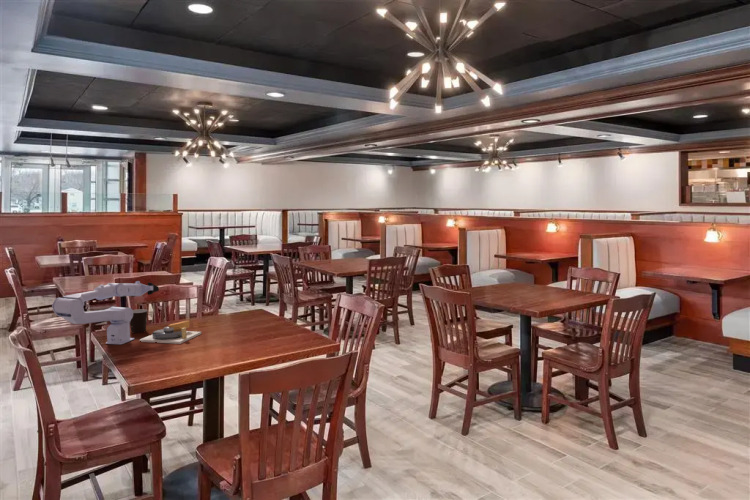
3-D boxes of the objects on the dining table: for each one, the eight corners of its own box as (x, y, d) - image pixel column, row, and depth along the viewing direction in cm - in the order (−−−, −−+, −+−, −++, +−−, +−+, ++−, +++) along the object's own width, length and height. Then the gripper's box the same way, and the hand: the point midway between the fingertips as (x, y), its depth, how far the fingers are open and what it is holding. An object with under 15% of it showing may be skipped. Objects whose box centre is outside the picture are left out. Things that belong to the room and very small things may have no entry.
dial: (165, 340, 234) (165, 330, 234) (145, 336, 241) (145, 326, 241) (198, 331, 249) (198, 322, 249) (178, 328, 257) (178, 319, 256)
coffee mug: (143, 333, 252) (142, 313, 251) (125, 333, 252) (124, 313, 251) (154, 327, 264) (153, 308, 263) (136, 327, 264) (136, 308, 263)
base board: (180, 343, 234) (179, 331, 234) (139, 341, 238) (139, 329, 237) (201, 333, 252) (200, 322, 251) (163, 331, 256) (162, 320, 255)
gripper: (143, 279, 241) (163, 279, 254) (117, 282, 246) (138, 283, 259) (144, 294, 241) (164, 294, 254) (118, 298, 245) (139, 297, 258)
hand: (151, 289), depth 256 cm, fingers open, 7 cm apart
